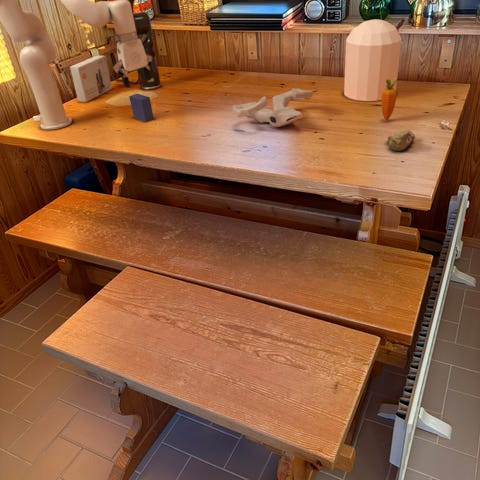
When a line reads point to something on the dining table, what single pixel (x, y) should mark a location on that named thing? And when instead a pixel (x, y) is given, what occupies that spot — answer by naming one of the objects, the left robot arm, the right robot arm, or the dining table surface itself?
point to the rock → (400, 140)
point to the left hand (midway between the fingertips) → (137, 83)
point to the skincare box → (91, 78)
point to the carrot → (388, 99)
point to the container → (371, 60)
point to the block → (141, 107)
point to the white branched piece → (280, 112)
